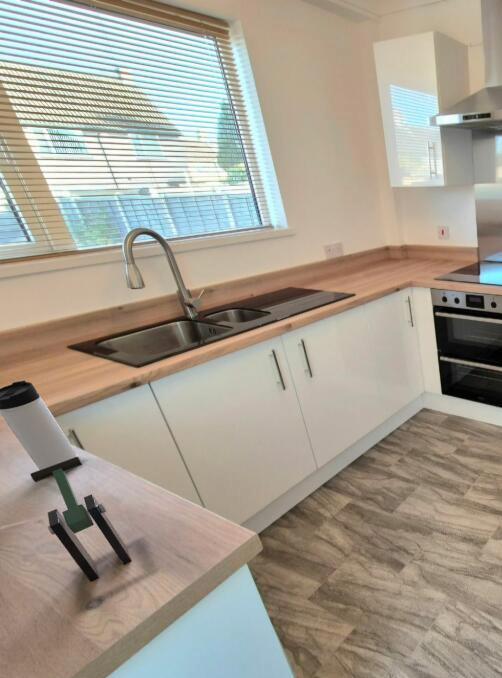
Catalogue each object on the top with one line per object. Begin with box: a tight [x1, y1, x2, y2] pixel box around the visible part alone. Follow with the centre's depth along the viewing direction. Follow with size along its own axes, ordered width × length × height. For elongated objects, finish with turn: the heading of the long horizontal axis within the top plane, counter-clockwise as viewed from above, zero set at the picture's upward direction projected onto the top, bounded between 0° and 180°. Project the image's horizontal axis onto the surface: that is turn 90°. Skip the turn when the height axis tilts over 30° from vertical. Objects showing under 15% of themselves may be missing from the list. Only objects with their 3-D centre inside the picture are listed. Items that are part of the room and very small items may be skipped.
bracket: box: [47, 493, 132, 583], centre depth 65 cm, size 10×8×13 cm
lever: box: [30, 455, 94, 534], centre depth 65 cm, size 13×6×2 cm, turn 49°
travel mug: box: [0, 380, 81, 473], centre depth 90 cm, size 6×7×20 cm
